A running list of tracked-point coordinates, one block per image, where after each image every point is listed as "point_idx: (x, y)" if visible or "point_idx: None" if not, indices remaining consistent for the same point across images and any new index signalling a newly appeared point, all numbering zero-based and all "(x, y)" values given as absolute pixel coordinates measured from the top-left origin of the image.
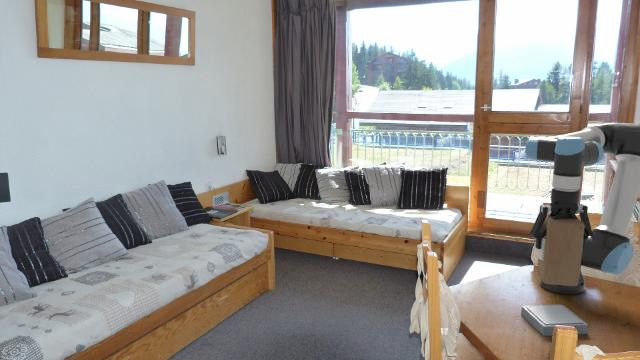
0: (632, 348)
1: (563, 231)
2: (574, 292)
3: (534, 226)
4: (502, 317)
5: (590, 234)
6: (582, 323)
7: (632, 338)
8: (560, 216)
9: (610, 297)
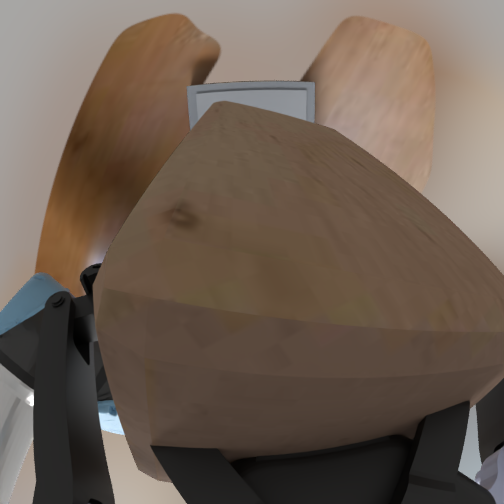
0: (124, 30)
1: (415, 237)
2: None
3: None
4: None
5: (60, 298)
6: (199, 92)
7: (98, 75)
8: (419, 455)
9: (72, 262)
